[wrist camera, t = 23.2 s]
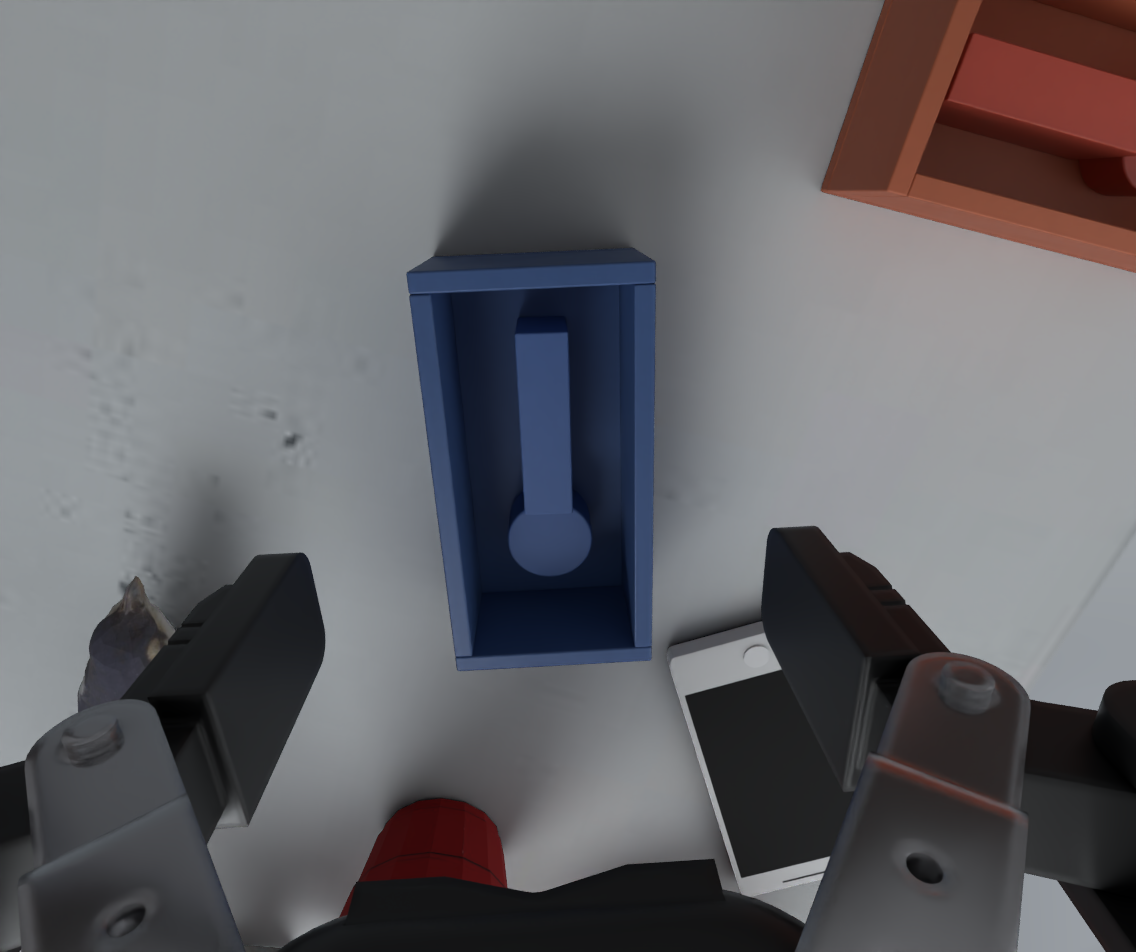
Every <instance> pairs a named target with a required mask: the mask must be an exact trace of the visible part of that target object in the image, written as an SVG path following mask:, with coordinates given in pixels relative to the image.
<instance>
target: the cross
mask: <svg viewBox="0 0 1136 952" xmlns="http://www.w3.org/2000/svg"><path fill="white" fill-rule="evenodd" d="M244 948H245V951H246V952H276V951H278V950H279V949H281V948H273V947H261V946H244Z"/></svg>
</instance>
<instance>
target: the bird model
mask: <svg viewBox="0 0 1136 952" xmlns="http://www.w3.org/2000/svg"><path fill="white" fill-rule="evenodd" d="M174 633H175V630H174V628H173V626H172V625H171V624H170V622H169V621H168V620H167V618H166V617H165V616H164V614H163V613H162V612H161V610H160V609H159V608H158V607H156V606H155V605H153V604H152V603H150V601H149V599H148V597H147V596H146V594H145V590H144V585H143V584H142V583H141V581H140V579H139V578H138V577H137V576H135V578H134V579H133V581H132V582H131V583H130V584H129V586H128V587H127V589H126V592H125V594H124V597H123V599H122V600H121V601H120V602H118V603H117V604H116V605H114V606H113V607H112V609H111V611H110V612H109V614H108V615H107V616H106V618H105V619H103V620H102V621H101V622H100V623H99V624H98V625H97V627H96V628H95V630H94V632H93V635H92V637H91V640H90V645H89V652H90V658H89V661H88V663H87V667H86V670H85V676H84V678H83V681H82V683H81V685H80V688H79V691H78V712H81V711H83V710H85V709H87V708H90V707H93V706H96V705H99V704H102V703H106V702H110V701H116V700H120V699H121V697H122V696H123V695H124V694H125V693H126V691H127V690H128V689H129V688H130V686H131V685H132V684H133V683H134V682H135V680H136V679H137V678H138V677H139V675H140V674H141V673H142V672H143V670H144V669H145V668H146V667H147V666H148V664H149V663H150V662H151V661H152V659H153V658H154V657H155V656H156V655H157V653H158V652H159V651H160V650H161V648H162V647H163V646H164V645H168V640H169V639H170V637H171V636H172V635H173V634H174Z"/></svg>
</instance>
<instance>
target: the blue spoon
mask: <svg viewBox="0 0 1136 952" xmlns="http://www.w3.org/2000/svg"><path fill="white" fill-rule="evenodd" d="M515 353H516V370H517V388H518V406H519V423H520V441H521V459H522V476H523V492H522V493H521V494H520V495H519V496H518V497H517V498H516V500H515V501H514V503H513V505H512V508H511V511H510V518H509V528H508V547H509V550H510V553H511V555H512V556H513V558H514V560H515V561H516V562H517V563H518V564H519V565H520V566H521V567H522V568H524V569H525V570H527V571H529V572H531V573H533V574H536V575H540V576H551V577H552V576H559V575H563V574H566V573H569V572H571V571H573V570H574V569H576V568H577V567H578V566H580V565H581V564H582V563H583V562H584V560H585V559H586V558H587V556H588V554H589V552H590V550H591V546H592V539H593V537H592V529H591V522H590V515H589V510H588V507H587V504H586V502H585V501H584V499H583V498H582V497H581V495H580V494H579V493H578V492H576V491H575V490H574V489H572V451H571V412H570V373H569V333H568V328H567V323H566V318H565V316H542V317H519V318H518V319H517V324H516V330H515Z"/></svg>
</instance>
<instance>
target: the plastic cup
mask: <svg viewBox="0 0 1136 952" xmlns="http://www.w3.org/2000/svg"><path fill="white" fill-rule="evenodd" d="M441 876H446V877H451V878H457V879H462V880H467V881H472V882H477V883H482V884H488V885H493V886H498V887H503V888H507V880H506V870H505V861H504V854H503V849H502V845H501V840H500V837H499V835H498V831H497V826H496V825H495V824H494V823H493V822H492V821H491V820H490V818H489V817H488V816H487V815H486V814H485V813H484V812H483V811H481V810H479V809H477V808H475V807H473V806H471V805H469V804H467V803H465V802H461V801H455V800H449V799H443V798H440V799H431V800H423V801H417V802H415V803H413V804H411V805H409V806H406V807H404V808H402V809H400V810H398V811H397V812H396V813H395V815H394V816H393V817H392V818H391V819H390V820H389V821H388V822H387V823H386V825H385V827H384V829H383V831H382V832H381V833H380V834H379V835H378V837H377V840H376V842H375V844H374V847H373V849H372V851H371V853H370V856H369V858H368V860H367V862H366V865H365V867H364V869H363V872H362V874H361V876H360V878H359V881H358V882H363V881H378V880H394V879H409V878H425V877H441ZM354 888H355V885H354V886H353V889H352V891H351V893H350V895H349V897H348V899H347V902H346V904H345V906H344V908H343V910H342V912H341V915H340V917H343V916H346V915H348V911H349V907H350V903H351V900H352V896H353V892H354ZM340 917H339V918H340Z"/></svg>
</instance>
